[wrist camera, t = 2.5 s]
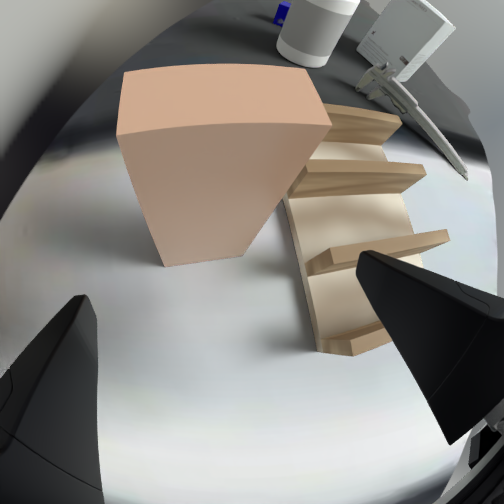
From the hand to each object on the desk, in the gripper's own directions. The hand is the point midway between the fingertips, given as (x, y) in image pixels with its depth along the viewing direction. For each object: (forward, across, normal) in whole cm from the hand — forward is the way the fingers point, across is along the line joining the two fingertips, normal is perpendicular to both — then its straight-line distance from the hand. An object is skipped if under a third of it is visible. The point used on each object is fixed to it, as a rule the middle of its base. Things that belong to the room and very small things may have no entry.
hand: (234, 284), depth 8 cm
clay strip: (+11, 0, +4) cm, 12 cm away
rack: (+11, -13, +5) cm, 17 cm away
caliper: (+19, -29, -3) cm, 35 cm away
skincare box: (+29, -30, -13) cm, 44 cm away
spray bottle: (+28, -15, -12) cm, 34 cm away
